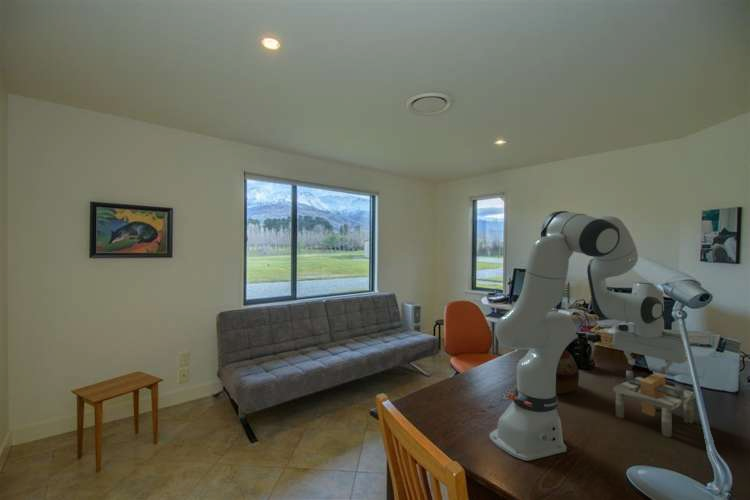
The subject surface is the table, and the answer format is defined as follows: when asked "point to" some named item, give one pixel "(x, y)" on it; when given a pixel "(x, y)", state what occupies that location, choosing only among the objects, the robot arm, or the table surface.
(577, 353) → the movie camera
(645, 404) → the wooden mini bench
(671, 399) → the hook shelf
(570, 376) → the ceramic pitcher
